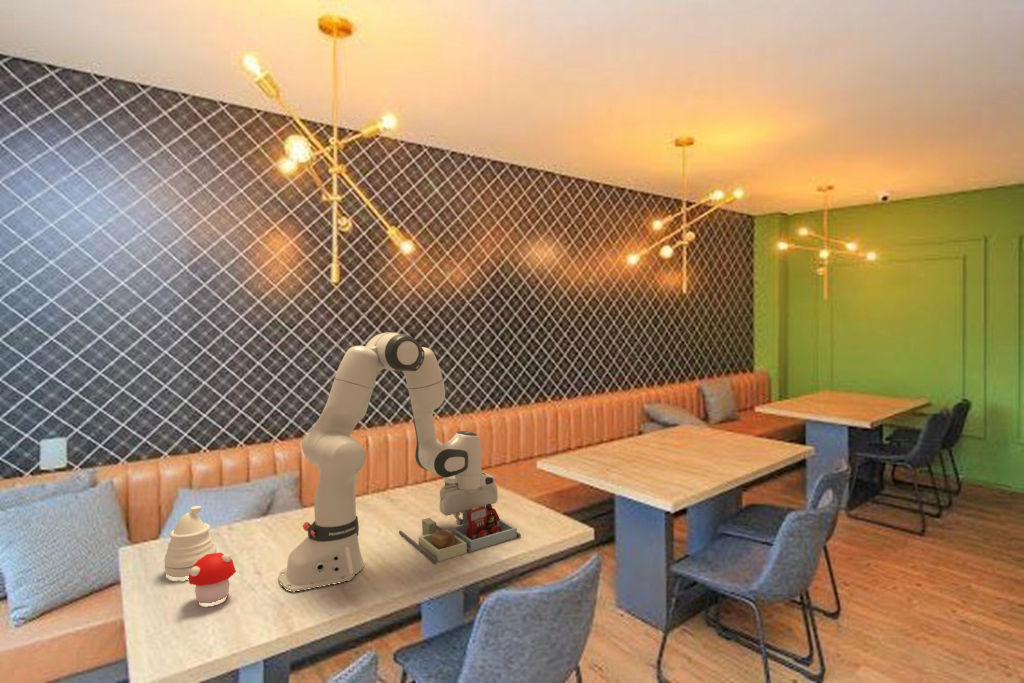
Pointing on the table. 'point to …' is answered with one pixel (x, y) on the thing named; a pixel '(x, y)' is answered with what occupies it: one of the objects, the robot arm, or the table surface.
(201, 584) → the mushroom
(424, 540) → the cube lane
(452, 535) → the walnut cube
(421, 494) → the table surface
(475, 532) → the toy fire truck
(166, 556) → the honey pot
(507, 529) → the grey open rectangular tray
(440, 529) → the lane rails
